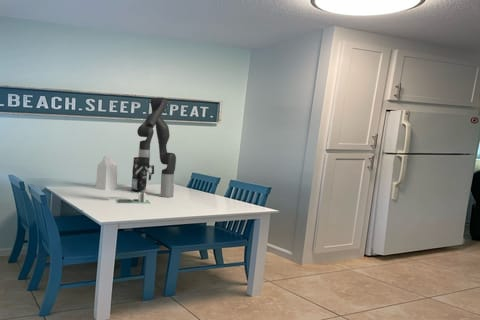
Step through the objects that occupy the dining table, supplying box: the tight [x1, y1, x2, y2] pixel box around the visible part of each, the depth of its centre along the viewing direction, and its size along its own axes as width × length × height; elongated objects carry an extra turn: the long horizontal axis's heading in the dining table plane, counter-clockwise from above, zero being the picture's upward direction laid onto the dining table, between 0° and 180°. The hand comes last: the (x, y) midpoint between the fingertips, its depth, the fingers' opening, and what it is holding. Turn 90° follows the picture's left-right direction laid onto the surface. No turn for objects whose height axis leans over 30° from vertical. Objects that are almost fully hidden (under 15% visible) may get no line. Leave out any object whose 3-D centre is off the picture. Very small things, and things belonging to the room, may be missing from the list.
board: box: [115, 198, 151, 205], centre depth 305 cm, size 22×14×2 cm, turn 109°
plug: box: [138, 191, 147, 202], centre depth 307 cm, size 4×4×6 cm
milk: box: [95, 155, 118, 191], centre depth 362 cm, size 12×12×26 cm
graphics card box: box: [130, 156, 148, 193], centre depth 364 cm, size 17×7×27 cm, turn 172°
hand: (142, 180), depth 306 cm, fingers open, 8 cm apart
